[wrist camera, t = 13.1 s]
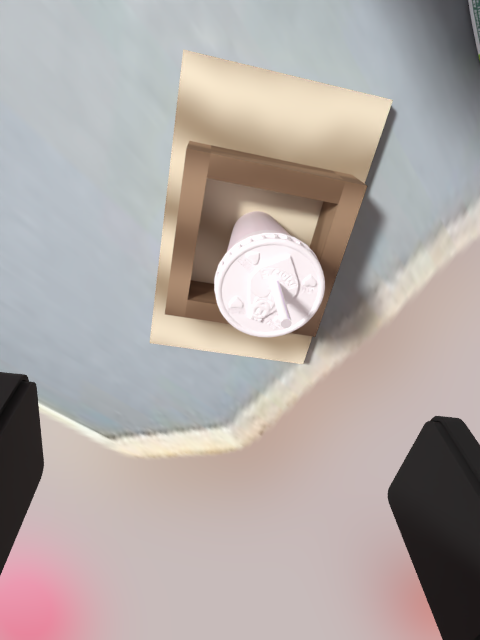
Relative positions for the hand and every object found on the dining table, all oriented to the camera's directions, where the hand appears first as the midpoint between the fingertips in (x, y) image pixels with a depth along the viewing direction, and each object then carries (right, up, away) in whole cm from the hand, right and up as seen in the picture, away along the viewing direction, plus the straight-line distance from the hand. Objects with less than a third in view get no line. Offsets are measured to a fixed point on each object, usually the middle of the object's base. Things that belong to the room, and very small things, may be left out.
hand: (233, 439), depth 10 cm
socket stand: (+1, +10, +23) cm, 25 cm away
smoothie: (+1, +10, +22) cm, 24 cm away
